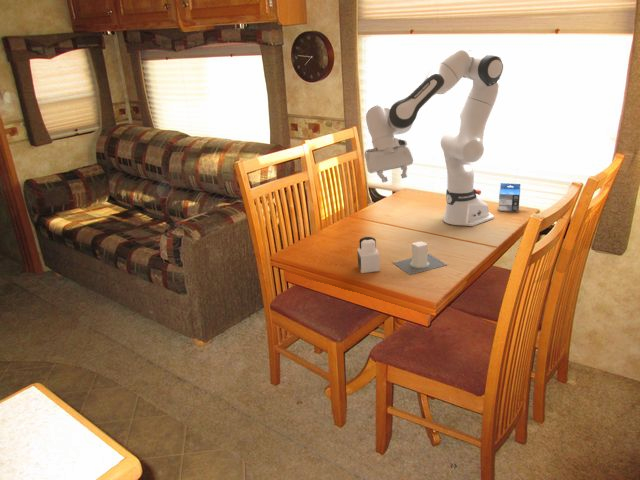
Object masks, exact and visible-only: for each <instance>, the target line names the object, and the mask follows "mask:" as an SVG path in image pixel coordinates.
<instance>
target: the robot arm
mask: <svg viewBox="0 0 640 480" xmlns="http://www.w3.org/2000/svg"><path fill="white" fill-rule="evenodd" d="M503 71H504V61H503V58H502V57H500V56H499V55H497V54H495V53H489V52H486V51H474V50H467V49H465V48H463V47H456V48H454V49H452V50H451V51H450V52H448V53H446V55H444V56H443V57H442V58H441V59H440V60H439V61H437V63H436V64H435V65H434V66H432V69H431V70H430V71H428V74H427V75H426V77H425V79H424V80H423V82H422V83H420V85H419V86H417V88H415V90H413V92H411V93H410V94H409V95H408V96H407V97H405V98H403V99H400V100H398V101H396V102H394V103H393V104H392V105H391V107H389V106H386V105H383V104H377V105H374V106H373V107H371V108H370V109H369V110H368V111H367V112H366V114H365V120H366V126H367V129H368V133H369V134H370V136H371V144H372V146H373V148H369V149H366V151H364V154H363V155H364V159H365V162H366V163H365V165H366V169H367V172H368V173H369V174H375V173H376V174H377V176H378V177H379V178H380V179H381V182H382V183H383V184H384V183H387V182H388V181H389V180H388V176H385V175H384V172H386V171H389V170H394V169H399V168H400V170H402V172H401V173H400V176H401V177H400V178H401V179H406V178H408V175H407V172H408V171H407V170H408V167H409V166H410V165H412V164H414V163H413V162H414V159H413V154H412V152H411V150H410V148H409V147H408V146H407V145H408V142H407V140H405V139H402V138H397V137H395V136H394V135H400V134H401V135H402V134H405V133H407V132H409V131H410V130H411V129H412V127H413V123H414V122H415V120H416V119H417V116H418V112H419V110H420V109H421V108H422V107H423V106H424V105H425V104H426V103H427V102H428V101H429V100H431V98H432V97H434V96H435V95H445V93H447V92H448V91H450V90H451V89H452V88H454V87H455V86H456V85H457V84H458V82H460V80H461V79H462V78H465V79H468V80H472V87H471V90H470V92H469V93H468V96H467V98H466V101H465V103H464V105H463V107H462V110H461V112H460V127H459V130H452V131H451V130H450V131H448V132H445V134H443V136H442V137H441V139H440V146H441V149H442V151H443V155H444V160H445V161H444V162H445V166H446V171H447V177H446V178H447V181H446V182H447V184H446V185H447V186H446V187H447V188H446V192H445V195H446V196H445V198H446V199H445V200H446V205H445V212H444V216H443V218H442V221H443V222H445V223H446V224H448V225H449V224H450V225H452V226H453V225H454V226H465V227H466V226H467V227H468V226H469V227H473V226H478V225H480V224H483V223H485V222H488V221H490V220H493V219H495V216H494V214H493V213H491V212H490V211H489V205H488V204H487V203H486V202H485V201H483V200H482V199H481V198H479V197H478V196H477V195H479V196H480V195H481V194H482V190H481V189H475V188H474V182H475V181H474V179H475V178H474V177H475V173H474V170H473V167H472V164H471V163H475V162H477V161H479V160H480V159H481V158H482V156H483V155H484V149H485V148H484V143H483V140H484V133H485V128H486V124H487V121H488V119H489V117H490V115H491V112H492V111H493V107H494V105H495V103H496V100H497V97H498V93H499V91H500V81H499V80H500V78H501V76H502V74H503Z"/></svg>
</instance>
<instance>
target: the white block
mask: <svg viewBox="0 0 640 480" xmlns="http://www.w3.org/2000/svg"><path fill="white" fill-rule="evenodd" d="M411 250H412V251H411V256H412V257H411V258H412V263H413V264H415V265H416V266H418V267H419V266H423V265H427V254H428V244H427V243H426V242H424V241H422V240H421V241H416V242H413V243H411Z"/></svg>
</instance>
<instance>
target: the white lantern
mask: <svg viewBox="0 0 640 480" xmlns="http://www.w3.org/2000/svg"><path fill="white" fill-rule="evenodd" d="M358 241H359V248H357V249H356V250H357V251H356V253H357V266H358V269H359V272H360V273H361V274H365V273H367V274H369V273H376V272H380V270H381V265H380V253H379V250H378V249H377V240H376V238H374V237H373V236H372V237H371V236H365V237H362V238H360V239H359V240H358Z"/></svg>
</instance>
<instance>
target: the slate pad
mask: <svg viewBox="0 0 640 480" xmlns="http://www.w3.org/2000/svg"><path fill="white" fill-rule="evenodd" d="M393 265H395V266H396V267H398V268H400V269H401V270H402V271H403V272H405V273H406V274H408V275H414V274H415V275H416V274H419V273H422V272H427V271H430V270H433V269H438V268H441V267H444V266H447V265H448V264H447V263H445V262H443V261H442V260H440V259H438V258H436V257H435V256H433V255H432V254H430V253H427V265H423V266H419V267H418V266H416V265H415V264H413V263H412V257H411V258H408V259H404V260H398V261H394V262H393Z"/></svg>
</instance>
